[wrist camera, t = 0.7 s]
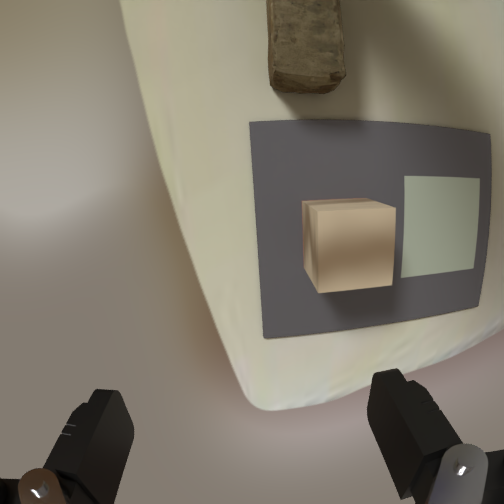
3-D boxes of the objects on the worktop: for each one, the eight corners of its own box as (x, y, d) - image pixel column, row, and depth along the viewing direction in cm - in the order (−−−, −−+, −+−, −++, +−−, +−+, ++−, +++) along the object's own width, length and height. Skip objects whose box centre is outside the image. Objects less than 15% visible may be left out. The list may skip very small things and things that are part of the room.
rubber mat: (249, 122, 26) (249, 121, 25) (488, 134, 26) (490, 134, 26) (263, 336, 31) (263, 338, 31) (476, 305, 31) (478, 306, 31)
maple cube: (301, 200, 27) (317, 211, 22) (366, 198, 27) (395, 207, 22) (303, 267, 29) (318, 293, 23) (365, 262, 29) (392, 285, 23)
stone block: (323, -9, 22) (336, -33, 18) (333, 97, 26) (351, 86, 21) (262, -12, 22) (265, -39, 17) (268, 96, 25) (273, 82, 21)
